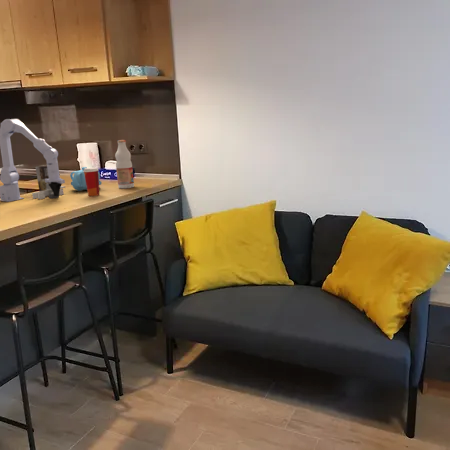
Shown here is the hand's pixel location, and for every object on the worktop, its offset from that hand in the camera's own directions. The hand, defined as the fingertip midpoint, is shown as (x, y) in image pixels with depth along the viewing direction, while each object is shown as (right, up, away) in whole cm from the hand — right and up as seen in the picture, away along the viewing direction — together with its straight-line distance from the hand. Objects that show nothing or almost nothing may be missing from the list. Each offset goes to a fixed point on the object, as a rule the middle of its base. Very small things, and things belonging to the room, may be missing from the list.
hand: (56, 195), depth 255 cm
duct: (-7, 0, +7) cm, 10 cm away
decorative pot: (+10, +5, +24) cm, 26 cm away
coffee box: (-12, +3, +21) cm, 24 cm away
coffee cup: (+19, 0, +3) cm, 20 cm away
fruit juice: (+33, +7, +25) cm, 42 cm away
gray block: (-2, -1, +2) cm, 3 cm away
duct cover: (-4, +5, +10) cm, 12 cm away
